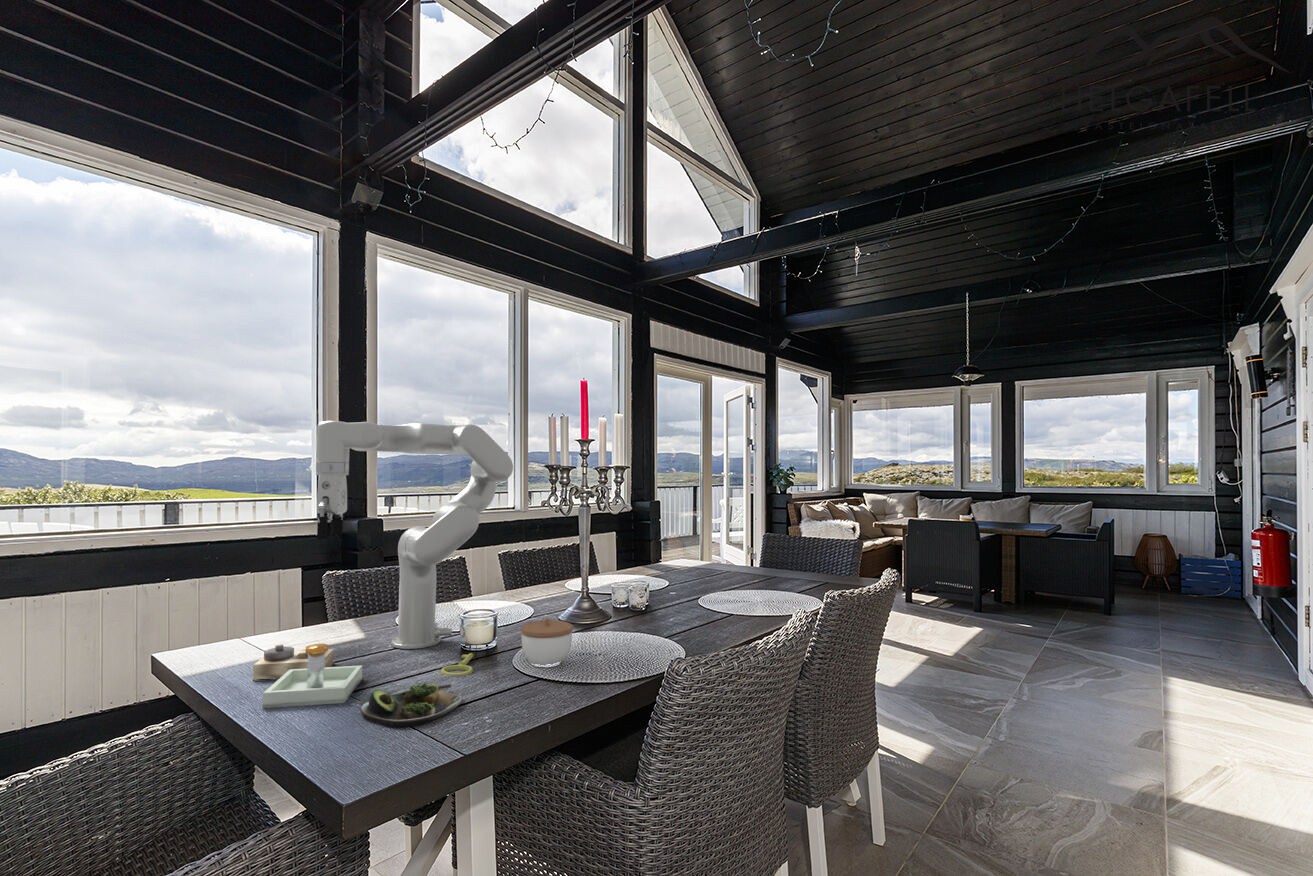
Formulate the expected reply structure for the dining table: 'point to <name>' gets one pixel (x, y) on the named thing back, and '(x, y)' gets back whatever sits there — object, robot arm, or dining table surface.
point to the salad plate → (408, 705)
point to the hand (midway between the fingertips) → (330, 536)
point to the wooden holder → (284, 662)
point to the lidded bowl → (546, 641)
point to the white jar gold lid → (316, 665)
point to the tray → (295, 693)
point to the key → (459, 667)
